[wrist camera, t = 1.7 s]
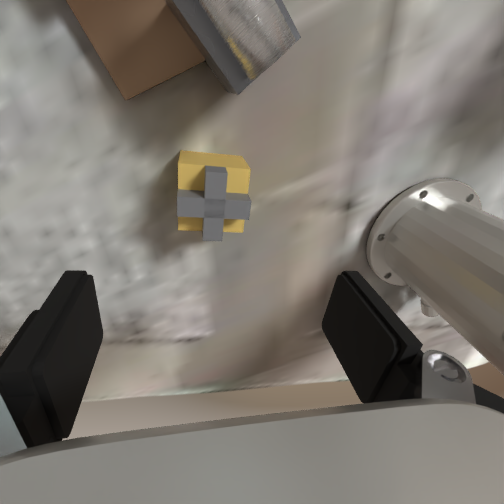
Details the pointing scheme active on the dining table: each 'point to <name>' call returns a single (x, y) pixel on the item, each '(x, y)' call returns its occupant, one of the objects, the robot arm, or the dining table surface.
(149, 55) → the bed
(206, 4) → the shaft
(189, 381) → the dining table surface
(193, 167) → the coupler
